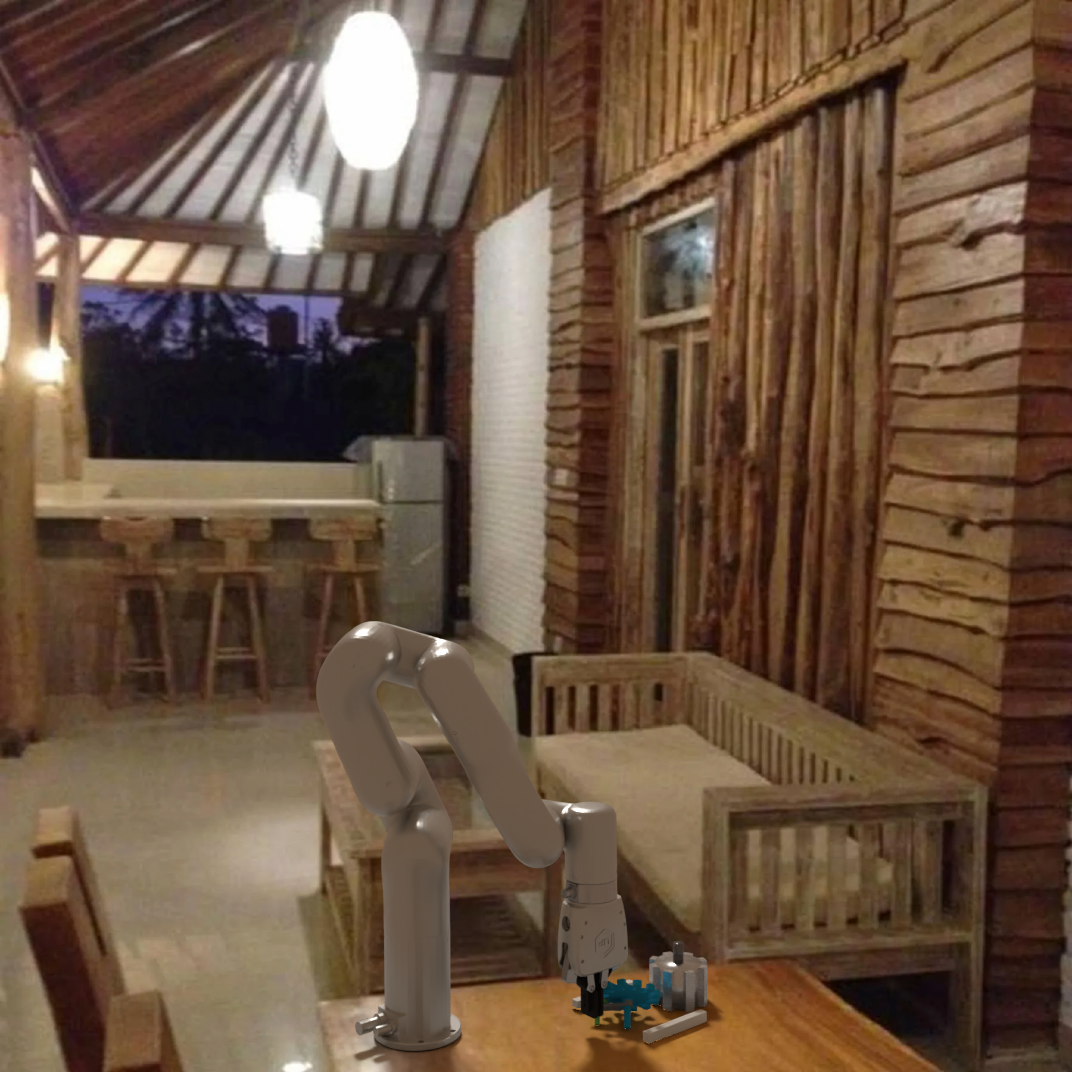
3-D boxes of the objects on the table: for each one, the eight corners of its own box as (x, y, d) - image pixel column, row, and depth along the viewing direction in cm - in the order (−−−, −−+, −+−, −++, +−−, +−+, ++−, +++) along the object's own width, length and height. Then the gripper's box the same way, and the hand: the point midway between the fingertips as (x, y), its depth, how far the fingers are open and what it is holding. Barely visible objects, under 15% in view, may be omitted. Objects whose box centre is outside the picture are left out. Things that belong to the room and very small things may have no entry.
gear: (666, 1001, 199) (654, 972, 192) (667, 1040, 195) (655, 1012, 188) (594, 1005, 202) (580, 976, 194) (593, 1043, 198) (579, 1016, 190)
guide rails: (648, 1044, 188) (648, 1033, 188) (572, 1008, 201) (572, 998, 201) (706, 1021, 196) (706, 1011, 196) (629, 988, 208) (629, 979, 208)
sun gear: (678, 1017, 198) (679, 957, 197) (637, 999, 204) (637, 941, 204) (719, 1001, 203) (719, 944, 203) (677, 984, 210) (677, 928, 210)
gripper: (568, 907, 183) (569, 1037, 184) (646, 885, 193) (647, 1008, 194) (534, 894, 189) (535, 1020, 190) (611, 873, 199) (612, 993, 200)
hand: (592, 1014), depth 192 cm, fingers closed
